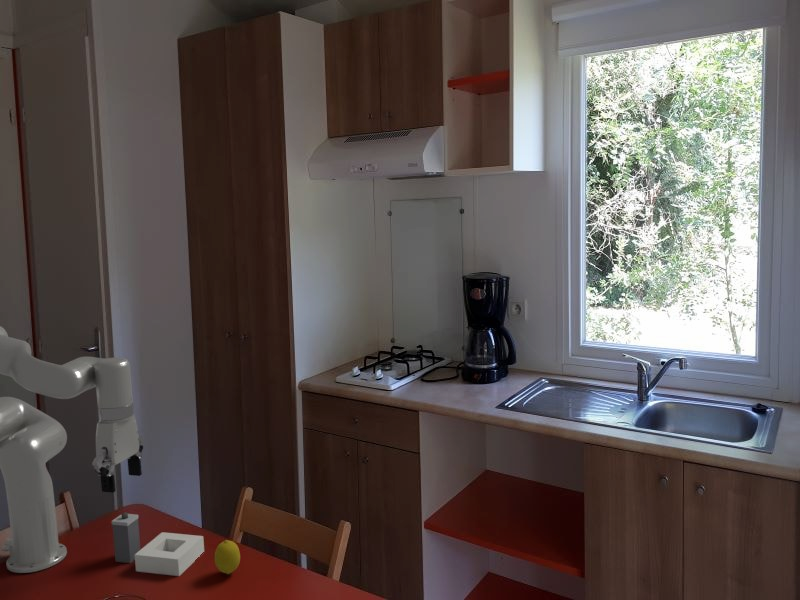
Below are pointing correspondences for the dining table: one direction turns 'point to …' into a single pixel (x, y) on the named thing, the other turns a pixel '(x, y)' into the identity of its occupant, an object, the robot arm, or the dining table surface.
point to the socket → (169, 554)
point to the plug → (126, 537)
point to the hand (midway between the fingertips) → (122, 483)
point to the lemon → (227, 557)
